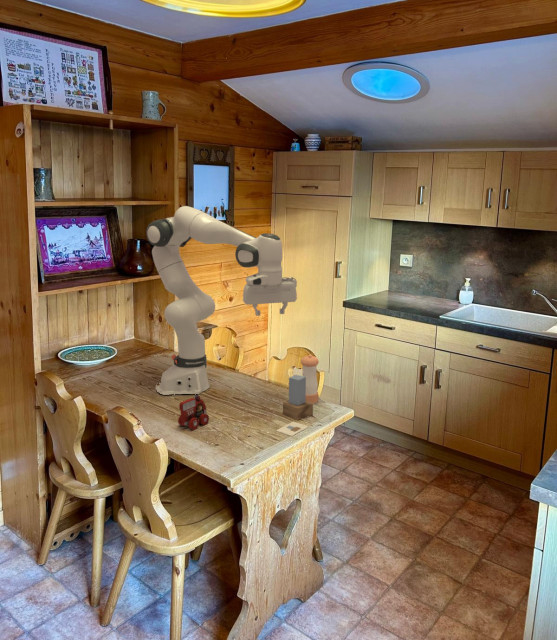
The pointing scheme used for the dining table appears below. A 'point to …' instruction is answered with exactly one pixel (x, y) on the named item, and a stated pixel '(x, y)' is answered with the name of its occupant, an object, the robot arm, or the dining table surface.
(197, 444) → the dining table surface
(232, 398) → the dining table surface
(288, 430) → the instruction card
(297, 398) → the gray brick
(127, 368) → the dining table surface
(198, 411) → the toy fire truck
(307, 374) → the pepper shaker
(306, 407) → the walnut block
